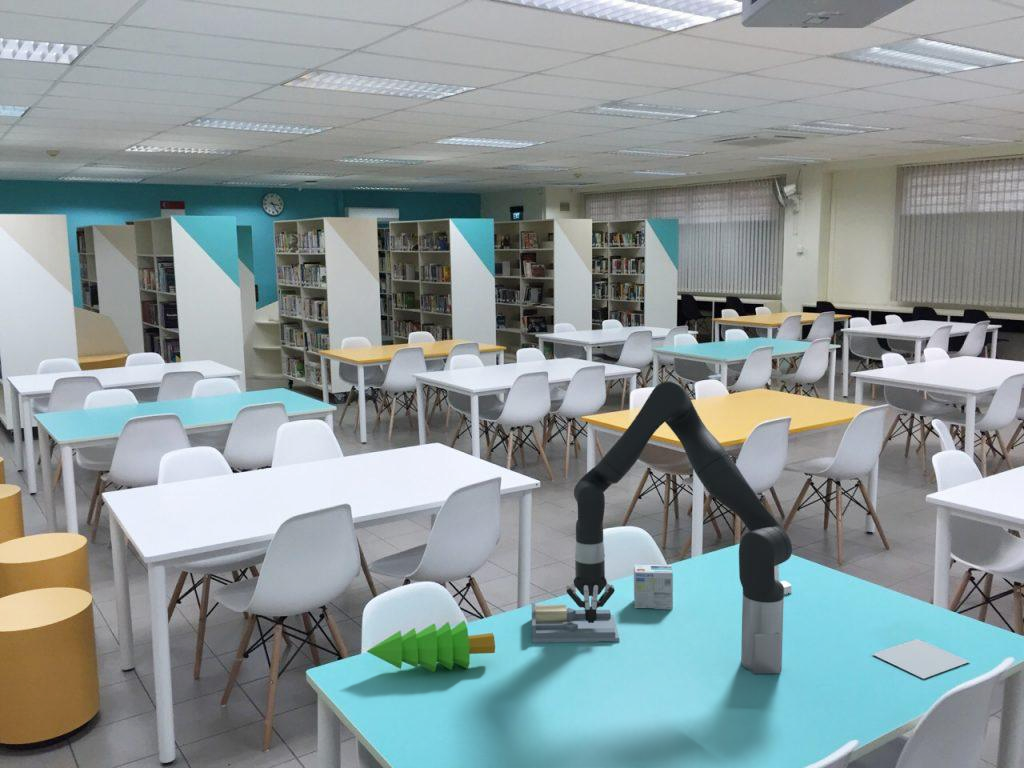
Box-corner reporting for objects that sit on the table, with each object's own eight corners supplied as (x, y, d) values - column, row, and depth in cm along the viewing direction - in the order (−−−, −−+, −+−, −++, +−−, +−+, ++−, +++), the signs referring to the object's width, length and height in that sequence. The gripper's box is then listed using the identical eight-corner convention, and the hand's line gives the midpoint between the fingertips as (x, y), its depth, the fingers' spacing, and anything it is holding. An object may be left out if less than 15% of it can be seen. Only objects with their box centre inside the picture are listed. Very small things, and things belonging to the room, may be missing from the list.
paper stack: (839, 641, 209) (839, 638, 209) (906, 620, 221) (906, 618, 221) (923, 681, 189) (923, 678, 189) (991, 656, 200) (991, 653, 200)
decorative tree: (495, 618, 196) (366, 626, 190) (498, 669, 193) (367, 679, 187) (487, 618, 207) (365, 625, 201) (490, 666, 204) (365, 675, 198)
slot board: (619, 641, 211) (619, 624, 210) (532, 642, 211) (532, 625, 210) (613, 618, 224) (613, 602, 224) (531, 619, 225) (531, 603, 224)
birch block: (566, 629, 216) (566, 611, 215) (535, 629, 216) (535, 611, 215) (566, 622, 220) (565, 604, 219) (535, 623, 220) (535, 605, 219)
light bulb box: (671, 600, 236) (671, 564, 234) (673, 610, 229) (673, 572, 228) (633, 599, 237) (633, 563, 236) (634, 609, 230) (634, 571, 229)
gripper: (613, 552, 218) (614, 615, 220) (563, 553, 218) (564, 616, 220) (617, 561, 211) (618, 627, 213) (565, 563, 211) (566, 628, 213)
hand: (590, 621), depth 217 cm, fingers closed
